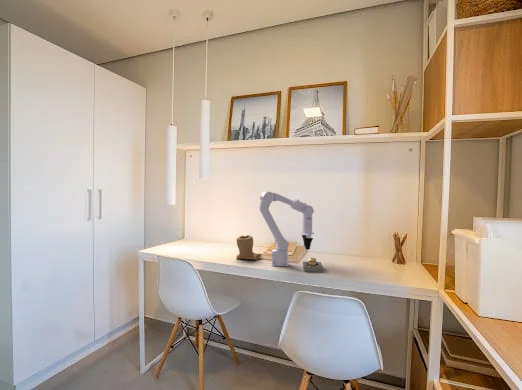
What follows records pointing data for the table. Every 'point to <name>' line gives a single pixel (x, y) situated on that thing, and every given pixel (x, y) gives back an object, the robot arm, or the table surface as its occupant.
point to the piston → (312, 261)
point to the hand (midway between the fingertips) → (306, 248)
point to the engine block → (312, 267)
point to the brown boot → (246, 248)
